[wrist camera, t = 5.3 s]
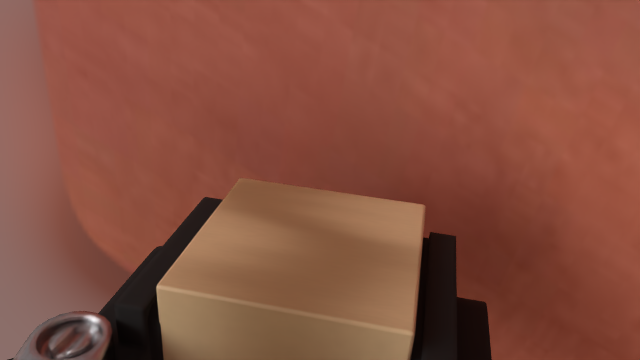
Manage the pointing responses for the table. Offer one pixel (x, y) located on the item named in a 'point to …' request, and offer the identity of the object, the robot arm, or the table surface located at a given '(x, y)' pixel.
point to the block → (296, 278)
